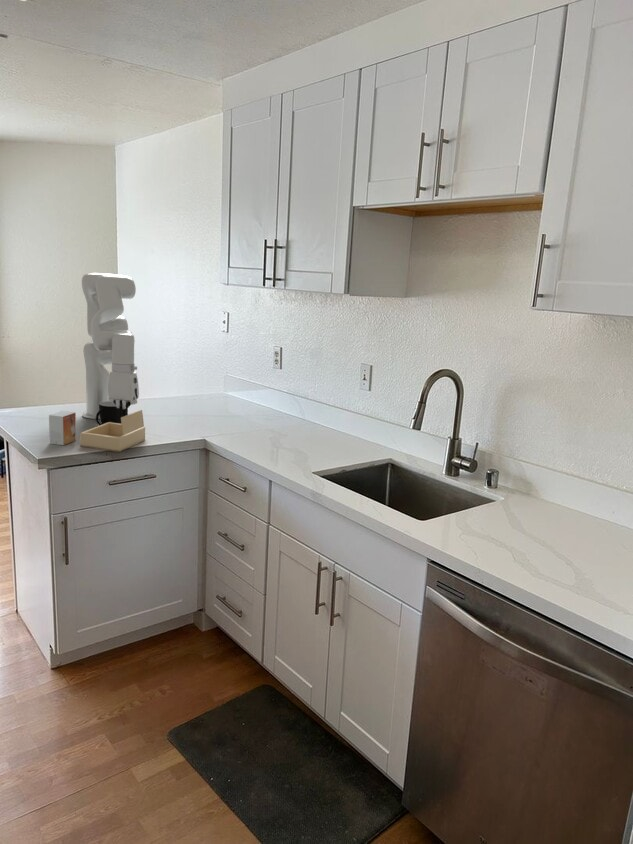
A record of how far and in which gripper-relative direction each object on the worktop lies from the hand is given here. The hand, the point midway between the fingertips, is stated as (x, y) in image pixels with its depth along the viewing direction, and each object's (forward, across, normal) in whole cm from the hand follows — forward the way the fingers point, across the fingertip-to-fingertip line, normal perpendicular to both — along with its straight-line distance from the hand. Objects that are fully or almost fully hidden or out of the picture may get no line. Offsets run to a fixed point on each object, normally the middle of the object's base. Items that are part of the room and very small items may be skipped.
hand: (122, 418), depth 223 cm
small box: (+10, +20, +7) cm, 23 cm away
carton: (+10, +4, 0) cm, 10 cm away
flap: (+1, -4, 0) cm, 4 cm away
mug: (+10, +16, -16) cm, 24 cm away
